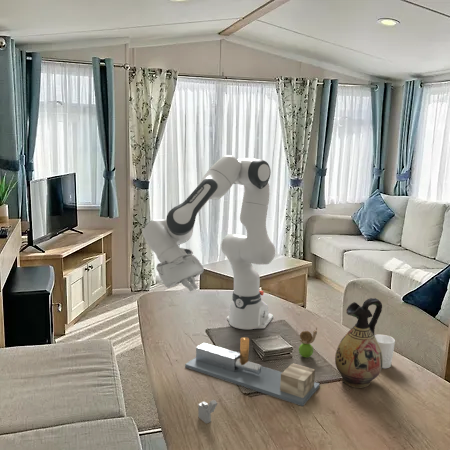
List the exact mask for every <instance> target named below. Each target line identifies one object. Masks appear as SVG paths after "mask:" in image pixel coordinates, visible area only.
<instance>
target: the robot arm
mask: <svg viewBox="0 0 450 450" xmlns="http://www.w3.org/2000/svg"><path fill="white" fill-rule="evenodd" d="M270 179H271V167H270V165H269V162H267V161H266V160H264V159H261V158H251V157H243V158H237V157H234V155H231V154H225V155H223V156H221V157H220V158H219V159H218V160H217V161H216V162H214V164H212V165H211V167H210V168H209V169H208V171H206V173H205V174H204V175H203V177H202V178H201V180H200V182H199V183H198V185H197V187H196V188H195V189H194V190H193V191H192V192H191V194H189V195H188V196H187V198H186V199H185V200H184V201H182V203H180V204H178V205H176V206H174V207H172V208H171V209H170V210H169V212H167V215H166V219H157V218H154V219H151V220H150V221H149V222H148V223H147V224H145V227H143V230H142V236H143V239H144V241H145V242H146V244H147V245H148V247H149V248H150V250H151V251H152V252H153V253H154V254H155V255H156V258H157V261H159V263H157V264H156V271H157V272H158V275H159V277H160V280H161V281H162V283H163V285H164V287H167V288H168V289H169V288H172V287H174V286H177V285H179V284H181V285H182V286H184V287H185V288H187V289H188V290H189V292H193V291H195V290H197V289H198V286H197V283H196V279H195V278H197V277H198V276H200V275H202V274H203V273H204V271H205V270H204V269H205V268H204V266H203V265H202V263H201V262H200V260H199V259H198V258H197V256H195V255H193V254H194V251H193V250H192V249H190V248H183V247H180V245H182V244H184V243H186V242H188V241H189V240H190V239H191V238H192V236H193V233H194V228H195V227H194V226H195V223H196V220H197V219H196V217H197V215H198V213H199V212H201V211H200V210H202V209H203V207H204V206H205V205H206V204H207V203H208V201H209V200H213V201H216V200H217V201H218V200H220V199H221V198H222V197H224V196H225V195H226V193H228V191H229V190H230V189H231V187H232V186H233V185H240V186H242V185H243V186H244V193H243V196H242V197H243V198H242V203H241V208H240V213H239V221H240V223H241V224H242V225H243V226H244V227H245V230H246V235H245V234H242V233H241V234H240V233H230V234H226V235H225V236H224V237H223V239H222V241H221V244H220V245H221V247H220V248H221V253H222V254H223V255H224V256H225V257H226V259H227V260H228V263H229V264H230V267H231V270H232V275H233V290H232V301H230V302H229V303H230V304H229V310H228V311H229V314H228V315H227V316H226V320H227V321H228V323H229V325H230V326H231V327H233V328H234V329H235V328H236V329H240V330H253V329H254V330H255V329H266V327H267V326H268V324H269V323H270V322H271V321H272V319H273V318H274V315H273V314H272V313H270V312H269V306H268V304H267V303H266V302H265V301H263V299H262V296H264V293H265V292H264V290H260V281H261V280H260V278H261V277H260V274H259V272H258V271H257V270H256V268H254V267H253V264H254V265H259V266H261V265H269V264H270V263H272V262H273V260H274V259H275V257H276V247H275V245H274V243H273V242H272V241H271V239H270V238H269V235H268V231H267V217H268V216H267V215H268V209H269V202H270V183H269V181H270Z"/></svg>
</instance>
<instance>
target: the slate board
mask: <svg viewBox="0 0 450 450" xmlns="http://www.w3.org/2000/svg"><path fill="white" fill-rule="evenodd" d="M261 366H262V369H261V372H260V374H256V373H253V372H249V371H246V370H243V369H240V368H239V369H238V370H236V371H235V372H231V371H228V370H225V369H222V368H218V367H215V366H212V365H209V364H206V363H203V362H200V361H196V356H195V357H194V358H192V359H191V360H189V361H188V362H186V363H185V364H184V367H185V368H186V369H188V370H189V369H190V370H191V371H195V372H199V373H202V374H204V375H207V376H209V377H214V378H217V379H220V380H223V381H225V382H228V383H232V384H234V385H236V386H240V385H241V387H243V386H244V388H246V387H247V389H249V388H250V390H253V391H255V392H258V393H261V394H264V395H268V396H271V397H274V398H276V399H280V400H283V401H286V402H289V403H292V404H295V405H298V406H301V407H304V405H305V404H306V403H307V402H308V401H309V400H310V399H311V397H312V396H313V395H314V394H315V392H317V391H318V389H319V388H320V382H316V381H314V386H313V388H312V389H311V390H310V391H309V392H308V393H307V394H306V395H305V397H304V398H301V397H298V396H295V395H292V394H289V393H286V392H283V391H280V381H281V373H282V372H283V371H279V370H276V369H274V368H273V369H272V368H270V367H267V366H263V365H261Z"/></svg>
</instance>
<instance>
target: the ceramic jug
mask: <svg viewBox="0 0 450 450" xmlns="http://www.w3.org/2000/svg"><path fill="white" fill-rule="evenodd" d="M372 305H374V306H375V310H374V312H373V313H372V312H371V310H370V309H369V307H370V306H372ZM345 311H346V314H347V315H348V316H350V317H351V316H352V317H353V318H356V319H357V321H356V323H355V325H354V326H352V327H351V328H350V330H348V332H346V334H345V335H344V336H343V338H342V339H341V341H340V343H339V344H338V346H337V349H336V352H335V355H334V360H335V361H334V362H335V366H336V369H337V372H338V373H339V374H340V377H342V382H343V383H345V384H346V386H349V387H352V388H358V389H359V388H366V387H368V386H369V385H370V384H371V383H372V381H373V380H375V379H376V378H377V377H379V375H380V374H381V372H382V369H383V368H382V364H383V358H382V352H381V349H380V346H379V344H378V342H377V340H376V338H375V336H374V335H375V329H376V325H377V323H378V320H379V318H380V316H381V313H382V311H383V304H382V302H381V300H379V299H377V298H375V297H373V298H372V297H369V298H367V299H365V301H363V304H362V306H361V305H360V304H358V303H357V302H356V301H354V302H352V303H350V304H349V305H348V306H347V308H346V310H345ZM371 317H372V318H371ZM369 318H370V322H369Z"/></svg>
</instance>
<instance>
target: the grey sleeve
mask: <svg viewBox="0 0 450 450" xmlns="http://www.w3.org/2000/svg"><path fill="white" fill-rule="evenodd" d="M195 350H196V351H195V357H196V361H200V362H203V363H206V364H209V365H212V366H215V367H218V368H222V369H225V370H228V371H231V372H235V371H236V370H238V369H239V368H237V367H235V359H237V358H240V352H239V351H238V352H237V351H233V350H230V349H227V348H224V347H221V346H217V345H214V344H210V343H206V342H203V343H201V344H199V345H197V346H196V348H195Z"/></svg>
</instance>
